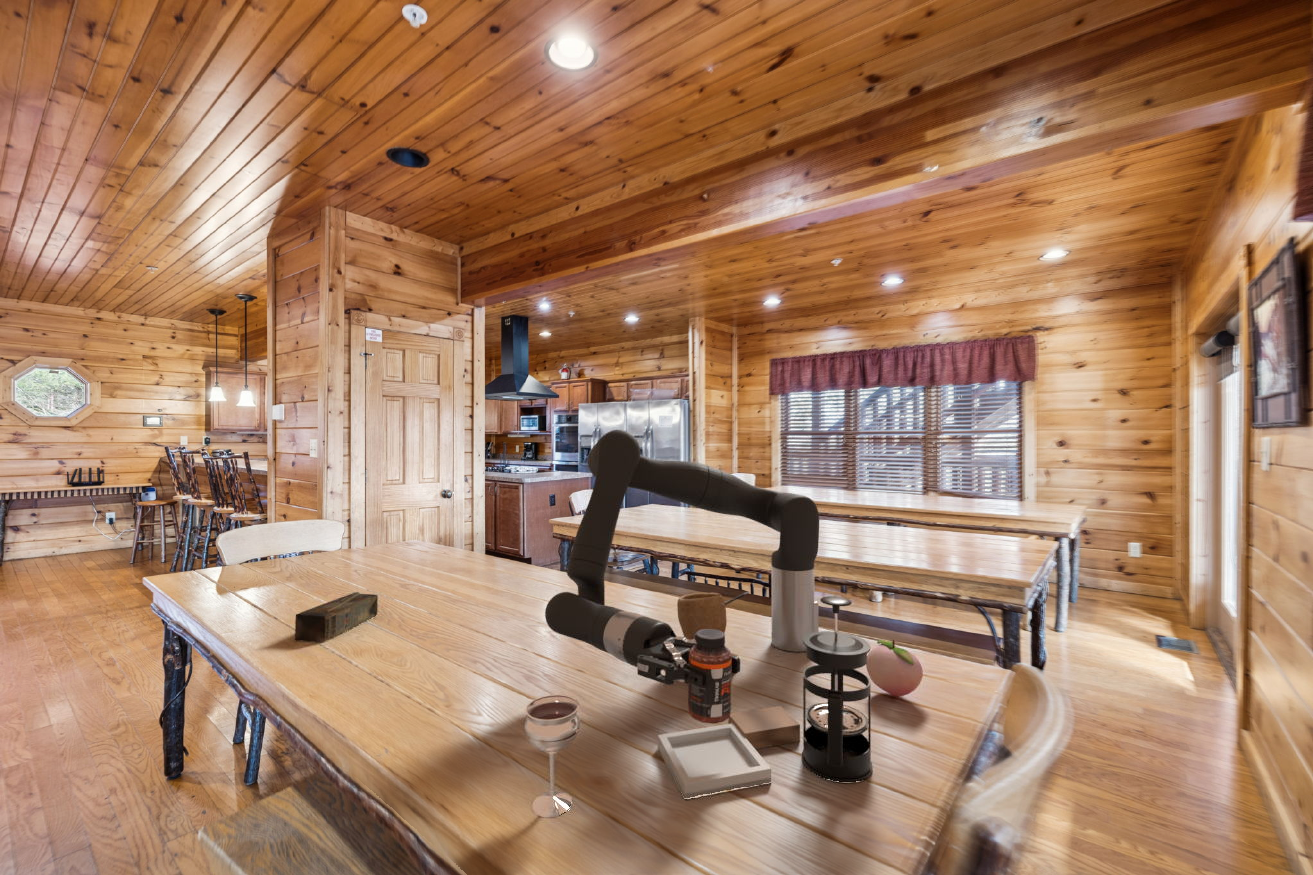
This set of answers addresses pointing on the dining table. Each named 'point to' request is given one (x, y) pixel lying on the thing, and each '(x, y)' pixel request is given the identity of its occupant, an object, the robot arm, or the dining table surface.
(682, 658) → the robot arm
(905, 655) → the decorative fruit
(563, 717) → the wineglass
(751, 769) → the tray
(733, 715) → the brown block
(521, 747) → the dining table surface
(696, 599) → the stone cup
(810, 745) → the french press
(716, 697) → the supplement bottle
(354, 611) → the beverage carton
